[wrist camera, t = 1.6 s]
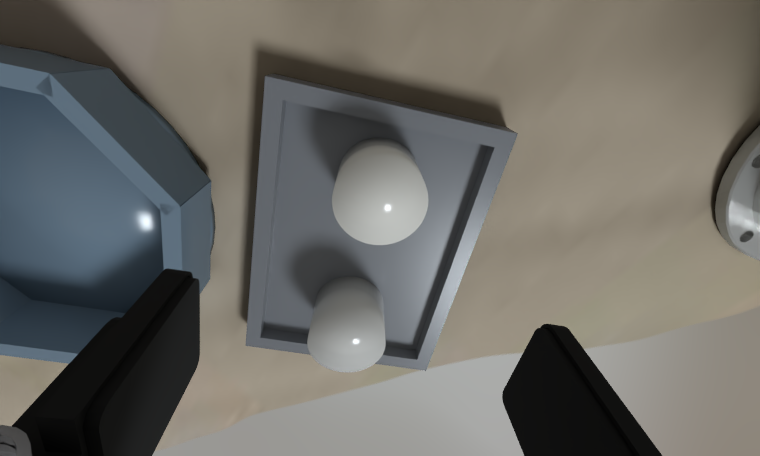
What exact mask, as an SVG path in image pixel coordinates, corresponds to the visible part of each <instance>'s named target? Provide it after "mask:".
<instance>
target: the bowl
mask: <svg viewBox="0 0 760 456" xmlns="http://www.w3.org/2000/svg"><path fill="white" fill-rule="evenodd" d="M214 236H215V215H214V208H213V203H212V198H211V181H210V179H209V178H208V176H207V175H206V174H205V173H204V172H203V171H202V170H201V169H200V167H199V165H198V163H197V161H196V159H195V158H194V156H193V155H192V153H191V152H190V150H189V149H188V147H187V145H186V144H185V142H184V141H183V140H182V139H181V138H180V136H179V135H178V134H177V133H176V131H175V130H174V129H173V128H172V126H171V125H170V124H169V123H168V122H167V121H166V120H165V119H164V118H163V117H162V116H161V115H160V114H159V113H158V112H157V111H156V110H155V109H154V108H153V107H151V106H150V105H149V104H148V103H147V102H145V101H144V100H143V99H142V98H141V97H139V96H138V95H137V94H136V93H134V92H133V91H131V90H130V89H128V88H127V87H126V86H125V85H124V84H123V83H122V81H121V80H120V79H119V78H118V77H117V76H116V75H115V74H114V73H113V71H112V70H111V69H109V68H106V67H101V66H97V65H92V64H88V63H83V62H79V61H75V60H73V59H70V58H67V57H64V56H60V55H57V54H53V53H50V52H46V51H40V50H34V49H27V48H17V47H10V46H6V45H1V44H0V355H6V356H14V357H22V358H29V359H37V360H45V361H53V362H61V363H70V362H71V361H72V360H73V359H74V358H75V357H76V356H77V355H78V354H79V352H80V351H81V350H82V349H83V348H84V347H85V346H86V345H87V344H88V343H89V342H90V340H91V339H92V338H93V337H94V336H95V335H96V334H97V333H98V332H99V331H100V330H101V329H102V327H103V326H104V325H105V324H106V323H107V322H109V321H110V320H111V319H113V318H115V317H120V318H122V317H123V316H124V314H125V313H126V312H127V311H128V310H129V309H130V308H131V307H132V305H133V304H134V303H135V302H136V301H137V300H138V299H139V297H140V296H141V295H142V294H143V293H144V292H145V291H146V289H147V288H148V287H149V286H150V285H151V284H152V283H153V282H154V280H155V279H156V278H157V277H158V276H159V275H160V274H161V272H162V271H163V270H165V269H167V268H169V269H175V270H182V271H189V272H191V273H192V275H193V278H197V279H199V284H200V293H201V292H202V290H203V289H204V287H205V286H206V284H207V283H208V281H209V280H210V255H211V251H212V248H213V244H214Z"/></svg>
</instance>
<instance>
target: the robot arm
mask: <svg viewBox="0 0 760 456" xmlns="http://www.w3.org/2000/svg"><path fill="white" fill-rule="evenodd" d="M715 215H716V223H717V226H718V228H719V231H720V233H721V235H722V237H723V238H724V239H725V240H726V241H727V242H728V244H729V245H731V246H732V247H734V248H735V249H737V250H738V251H740V252H742V253H744V254H745V255H748V256H750V257H752V258H754V259H756V260H760V126H759V127H758V128H757V129H756V130H755V131H754V132H753V133H752V134H751V135H750V136H749V137H748V138H747V139H746V141H745V142H744V143H743V145H742V146H741V147H740V149H739V150H738V151H737V153H736V154H735V156H734V157H733V158H732V160H731V162H730V164H729V166H728V168H727V170H726V171H725V173H724V175H723V177H722V180H721V183H720V186H719V189H718V192H717V198H716V206H715ZM199 356H200V284H199V279H197V278H193V275H192V273H191V272H189V271H182V270H175V269H169V268H167V269H165V270H163V271H162V272H161V274H160V275H159V276H158V277H157V278H156V279H155V280H154V282H153V283H152V284H151V285H150V286H149V287H148V288H147V289H146V291H145V292H144V293H143V294H142V295H141V296H140V297H139V299H138V300H137V301H136V302H135V303H134V304H133V305H132V307H131V308H130V309H129V310H128V311H127V312H126V313H125V314H124V316H123V317H122V318H120V317H115V318H113V319H111V320H110V321H109V322H107V323H106V324H105V325H104V326H103V327H102V329H101V330H100V331H99V332H98V333H97V334H96V335H95V336H94V337H93V338H92V339H91V340H90V342H89V343H88V344H87V345H86V346H85V347H84V348H83V349H82V350H81V351H80V352H79V354H78V355H77V356H76V357H75V358H74V359H73V360H72V361H71V362H70V363H69V364H68V366H67V367H66V368H65V369H64V370H63V371H62V372H61V373H60V374H59V375H58V376H57V378H56V379H55V380H54V381H53V382H52V383H51V384H50V385H49V386H48V387H47V388H46V390H45V391H44V392H43V393H42V394H41V395H40V396H39V397H38V398H37V399H36V400H35V401H34V403H33V404H32V405H31V406H30V407H29V408H28V409H27V410H26V411H25V412H24V413H23V415H22V416H21V417H20V418H19V419H18V420H17V421H16V422H15V423H14V424H13V425H12V427H11V426H5V425H0V456H152V454H153V453H154V451H155V449H156V447H157V445H158V443H159V441H160V439H161V437H162V435H163V433H164V431H165V429H166V427H167V425H168V423H169V421H170V419H171V417H172V415H173V413H174V411H175V409H176V407H177V405H178V404H179V402H180V400H181V398H182V396H183V394H184V392H185V390H186V388H187V386H188V384H189V382H190V380H191V378H192V376H193V374H194V372H195V370H196V368H197V365H198V361H199ZM503 403H504V406H505V409H506V411H507V414H508V416H509V419H510V421H511V423H512V426H513V428H514V431H515V433H516V436H517V438H518V441H519V443H520V446H521V448H522V450H523V453H524V456H662V455H661V453H660V452H659V451H658V449H657V448H656V447H655V445H654V444H653V443H652V441H651V440H650V438H649V437H648V436H647V434H646V433H645V432H644V430H643V429H642V428H641V426H640V425H639V424H638V422H637V421H636V420H635V418H634V417H633V415H632V414H631V413H630V411H629V410H628V409H627V407H626V406H625V405H624V403H623V402H622V401H621V399H620V398H619V396H618V395H617V394H616V392H615V391H614V390H613V388H612V387H611V386H610V384H609V383H608V382H607V380H606V379H605V378H604V376H603V375H602V374H601V372H600V371H599V370H598V368H597V367H596V365H595V364H594V363H593V361H592V360H591V359H590V357H589V356H588V355H587V353H586V352H585V351H584V349H583V348H582V346H581V345H580V344H579V342H578V341H577V340H576V338H575V337H574V336H573V334H572V333H571V332H570V330H569V329H568V328H567V327H564V326H558V325H551V324H544V325H542V326H541V328H538V329H536V331H535V332H534V334H533V336H532V338H531V340H530V342H529V343H528V345H527V347H526V349H525V351H524V353H523V355H522V357H521V358H520V360H519V362H518V364H517V366H516V368H515V370H514V372H513V373H512V375H511V377H510V379H509V381H508V383H507V385H506V386H505V388H504V391H503Z"/></svg>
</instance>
